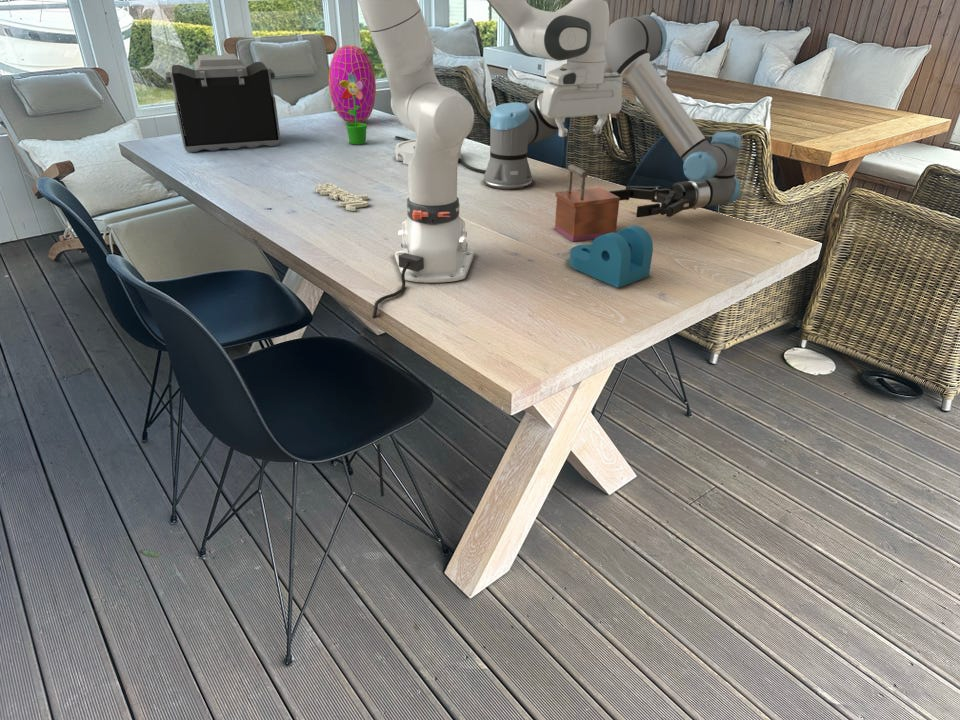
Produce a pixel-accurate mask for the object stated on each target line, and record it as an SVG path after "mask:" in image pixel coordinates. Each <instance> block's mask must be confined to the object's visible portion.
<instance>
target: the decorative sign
mask: <svg viewBox="0 0 960 720" xmlns="http://www.w3.org/2000/svg"><path fill="white" fill-rule="evenodd" d="M317 186H318V187H316V188H315V192H316V193H319V194H320V196H321V195H322V196H323V195H324V196H326V195H327V196H328V195H329V198H330V199H332V200H333V199H334V200H335V201H338V200H341V201H339V202H338V205H339V207H345V210H346V211H350V212H356V211H357V209H358V208H364V207H365V208H366V207H368V206H369V201H367V200H369V195H368V194H353V193H350V192H349V191H348V190H345V189H344V188H343V189H342V187H339V186H338V185H336V184H333V183H332V182H325V183H324V184H322V183H319V184H317Z"/></svg>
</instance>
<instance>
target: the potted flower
mask: <svg viewBox="0 0 960 720" xmlns="http://www.w3.org/2000/svg"><path fill="white" fill-rule="evenodd" d="M348 78H349V81H346V80H342V81H341V82H340V83H339V84H340V85H341V86H342V87H343V88H346V89H347V90H345V91H344V93H343V94H342V97H341V99H348V98H350V97H351V96H352V95H353V100H354V110H349V111H348V112H349V114H351V115H355V123H349V122H348V123H347V124H346V125H345V128H346V131H347V136H348V141H349V144H352V145H363V144H366V143H367V129H368V124H367V123H366V122H365V123H364V122H361V123H357V116H356V110H358V109H359V106H356V103H355V95H356V97H357V98H358V99H359V100H362V98H363V93H362V92H361V91H360V90H361V89H363V84H362V82H361V81H358V82H357V83H356V78H355V76H354V75H352V74H350V73H348Z"/></svg>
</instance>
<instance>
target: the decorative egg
mask: <svg viewBox="0 0 960 720" xmlns="http://www.w3.org/2000/svg"><path fill="white" fill-rule="evenodd" d="M348 73H350V74H352V75H354V76H355V78H356V83H357V82H358V81H361V82H362V84H363V89H361V90H360V91H361V92H362V93H363V98H362V100H359V99H358V98H357V97H356V95H355V103H356V106H359V109H358V110H356V116H357V123H364V122H365V121H366V120H368V118H369V117H370V116H371V114H372V112H373V111H374V106H375V103H376V102H375V101H376V96H377V95H376V94H377V83H376V82H377V81H376V75H375V71H374V68H373V63H372V62H371V60H370V57H369V56H368V54H367V53H366V51H365V50H363V48H361V47H359V46H357V45H353V44H352V45H351V44H348V45H343V46H340V47H338V48H337V49H336V51H334V53H333V56H332V57H331V61H330V63H329V69H328V90H329V96H330V99H331V103H332V105H333V108H334V110H335V111H336V113H337V114H338V116H339V118H341V119H342V120H343V121H344V122H346V123H348V124H349V123H355V115H351V114H349V112H348V111H349V110H354V100H353V95H352V96H351V97H350V98H348V99H341V97H342V94H343V93H344V91H345V90H347V89H346V88H343V87H342V86H341V85H340V84H339V83H340V82H341V81H342V80H346V81H349V78H348Z"/></svg>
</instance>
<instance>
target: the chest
mask: <svg viewBox="0 0 960 720" xmlns="http://www.w3.org/2000/svg"><path fill="white" fill-rule="evenodd" d="M619 208H620V201H619V202H611V203H603V204H596V205H588V206H580V207H573V206H571V205H569V204H568V203H566V202H564V201H563V200H561V199H559V198H558V197H556V204H555V219H554V220H555V221H554V230H555V231H556V232H558V233H560V234H561V235H562V236H564V237H566V238H567V239H568V240H570V241H571V242H579V241H586V240H594V239H595V238H597V237H598V236H601V235H604V234H608V233H612V232H613V233H617V227H618V217H619Z"/></svg>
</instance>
